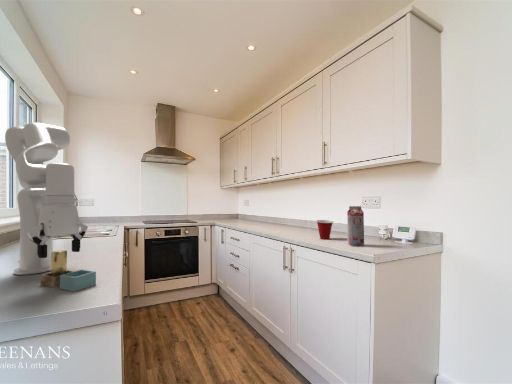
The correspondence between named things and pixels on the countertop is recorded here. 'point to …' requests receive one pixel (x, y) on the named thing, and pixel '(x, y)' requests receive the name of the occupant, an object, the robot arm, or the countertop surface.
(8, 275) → the countertop surface
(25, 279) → the countertop surface
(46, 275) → the socket block
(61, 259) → the gold domed peg
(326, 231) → the plastic cup
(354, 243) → the juice carton
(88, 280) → the block
